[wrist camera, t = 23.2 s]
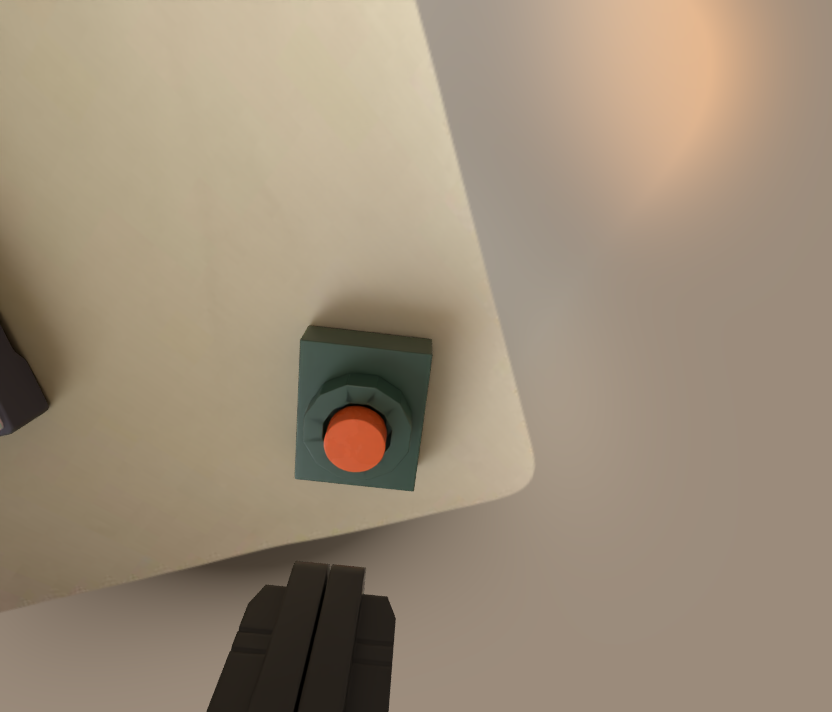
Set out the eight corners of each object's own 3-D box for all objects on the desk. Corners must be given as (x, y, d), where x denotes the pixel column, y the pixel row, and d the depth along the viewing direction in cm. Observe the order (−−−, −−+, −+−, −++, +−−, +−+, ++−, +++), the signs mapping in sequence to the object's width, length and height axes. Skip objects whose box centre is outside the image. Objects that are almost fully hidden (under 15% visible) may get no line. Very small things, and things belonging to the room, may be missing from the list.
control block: (432, 339, 36) (433, 366, 32) (414, 469, 40) (413, 508, 36) (308, 324, 36) (293, 350, 32) (302, 457, 40) (288, 495, 35)
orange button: (389, 408, 33) (388, 422, 32) (384, 459, 35) (382, 475, 33) (329, 402, 33) (325, 416, 32) (326, 453, 35) (321, 469, 33)
